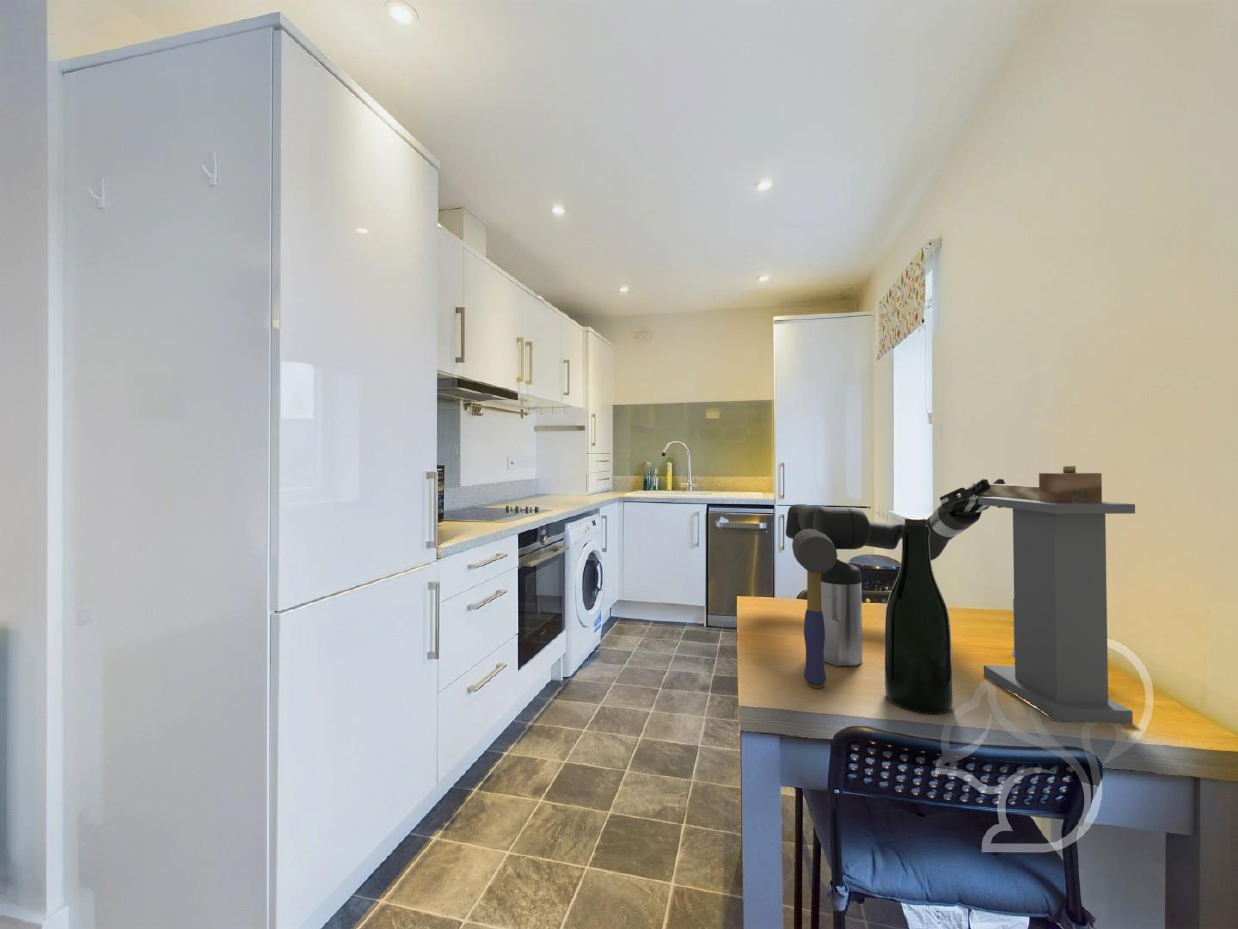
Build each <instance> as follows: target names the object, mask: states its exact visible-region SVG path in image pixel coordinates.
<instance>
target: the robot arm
mask: <svg viewBox="0 0 1238 929" xmlns="http://www.w3.org/2000/svg"><path fill="white" fill-rule="evenodd" d="M989 484H990V482H989V481H988V479H987V478H983V479H981V480H979V481H978V482H977V484H975V485H974V486H972V485H970V486H969V487H967V488H965V487H960V488H957V489H955V490H953V491H951V492H949V493H946V494H944V495H942V496H939V500H940V505H939V506H938V507H937V508H935V510H934V511H933V512H932V514H931V515H930V516H929V517H928V518H927V519H926V525H927V526H929V530H930V536H929V545H930V559H931V562H932V561H934V560H936V559H937V558H938V557H939V556H940V555H941V554H942V553H943V551H944V550H945V548H946V546H947V545H948V543H949V541H951V540H952V539H953V538H955V537H956V536H957V535H959V534H962V533H964V532H965V531H966V530H967V529H969V528H970V527H971V526H972V525H974V524H975V523H976V522H977V521H979V520H980V519H981V518H980V517H981V515H982V513H983V512H984V511H985V510H988V509H989V508H990V506H988V505H979V504H978V497H999V496H988V495H982V494H983V493H984V492H985V491H987V490H988V489H989V488H990V485H989ZM992 484H1006V482H1005V480H1004V479H1003V478H998V479H997V480H995V481H994V482H993V483H992ZM997 508H998V509H1003V507H997ZM786 516H787V517H786V526H785V536H786V537H787V538H789V539H790V540H791V539H792V540H793V539H794V537H795V535H796V534H797V533H798V532H800V531H802V530H804V529H814V530H817V531H819V532H821V533H823V534H825V535H826V536H827V537H828V538H830V540H831V541H832V543H833V544H834V546H835V548H836V550H859V549H861V548H864V547H870V548H875V549H876V548H877V549H883V550H892V551H893V550H895V549H897V546H898V545H899V542H900V540H902V532H901V529H902V525H904V524H905V522H904V523H893V524H892V523H883V522H877V521H876V522H874V521H869V519H868V516H867V514H865V513H864V511H863V510H861V509H859V508H857V507H851V506H846V507H845V506H844V507H842V506H841V507H840V506H839V507H838V506H836V507H834V506H833V507H831V506H830V507H829V506H824V505H823V506H821V505H814V506H813V505H811V504H805V503H797V504H792V505H790V507H789V508H788V510H787V515H786ZM862 585H863V584H862V571H861V569H860V568H859V567H858V566H855V565H853V564H850V563H847V562H844V561H842V560H840V559H838V558H837V561H836V563H835V565H834V567H832V568H831V569H830V570H829V571H827V572H824V573H821V609H822V613H823V618H824V626H825V642H824V663H828V664H830V665H833V666H835V667H842V666H843V667H844V666H845V667H848V666H850V667H851V666H857V665H861V664H862V663H863V616H862V614H863V613H862V612H863V606H862V605H863V604H862V603H863V602H862V600H863V599H862V598H863V596H862V594H863V593H862Z"/></svg>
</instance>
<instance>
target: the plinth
mask: <svg viewBox="0 0 1238 929" xmlns="http://www.w3.org/2000/svg"><path fill="white" fill-rule="evenodd" d="M978 504H979V505H988V506H989V507H996V508H998V507H1002V508H1004V509H1012V540H1013V541H1012V542H1013V543H1012V546H1013V549H1012V550H1013V552H1012V553H1013V599H1014V623H1013V629H1014V628H1015V657H1014V665H991V664H989V665H987V664H985V665H984V664H983V676H985V677H986V678H987V679H989V680H990V681H992V682H993V681H994V683H995V684H997V685H998V686H999V687H1001V688H1003V687H1004V688H1005V690H1006V689H1007V690H1009V691H1011V692H1012V693H1015V694H1017V695H1018V696H1019V697H1021V698H1022V699H1025V700H1026V701H1028V702H1030V704H1032V705H1034V706H1036V707H1037V708H1038V709H1040V710H1041V711H1043V712H1044V713H1046V714H1047V715H1048V716H1049V717H1050V718H1052V719H1053V720H1061V721H1060V722H1078V721H1083V723H1084V722H1085V723H1086V722H1088V723H1112V724H1113V723H1114V724H1117V723H1118V724H1133V720H1134V718H1133V715H1134V713H1133V710H1131V709H1130V708H1128V707H1126V706H1123V705H1122V704H1120V703H1118V702H1117V701H1114V700H1112V699H1111V698H1109V676H1108V675H1109V673H1108V672H1109V670H1108V669H1109V668H1108V667H1109V666H1108V660H1109V659H1108V657H1109V656H1108V600H1107V599H1108V597H1107V551H1106V550H1107V544H1106V543H1107V542H1106V540H1107V538H1106V537H1107V536H1106V534H1107V533H1106V532H1107V531H1106V530H1107V529H1106V527H1107V526H1106V514H1108V515H1111V514H1112V515H1114V514H1119V515H1120V514H1122V515H1123V514H1125V515H1127V514H1129V515H1130V514H1136V504H1135V503H1123V502H1113V501H1102V503H1051V502H1040V501H1039V500H1032V499H1021V498H1010V497H978ZM1004 688H1003V689H1004ZM1007 690H1006V691H1007ZM1009 691H1008V692H1009ZM1012 693H1011V694H1012ZM1049 717H1048V718H1049ZM1050 718H1049V719H1050ZM1052 719H1051V720H1052ZM1053 720H1052V721H1053Z"/></svg>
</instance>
